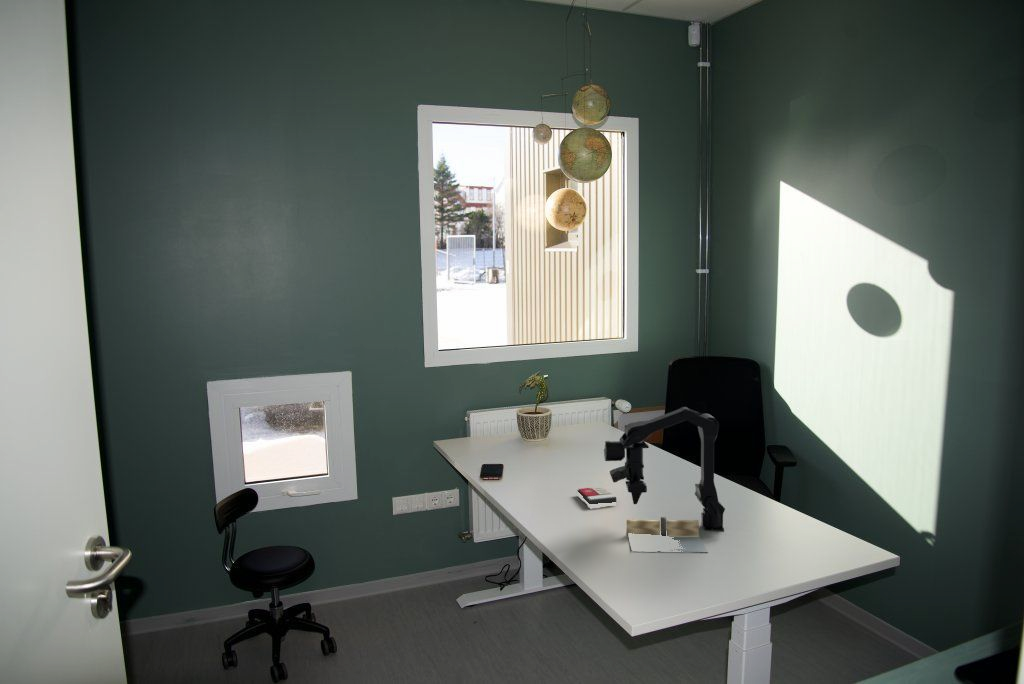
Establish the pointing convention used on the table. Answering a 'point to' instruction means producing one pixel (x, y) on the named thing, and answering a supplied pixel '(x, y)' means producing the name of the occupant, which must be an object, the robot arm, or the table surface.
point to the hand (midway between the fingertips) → (635, 503)
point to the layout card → (690, 543)
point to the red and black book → (597, 495)
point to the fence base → (679, 527)
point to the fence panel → (643, 527)
